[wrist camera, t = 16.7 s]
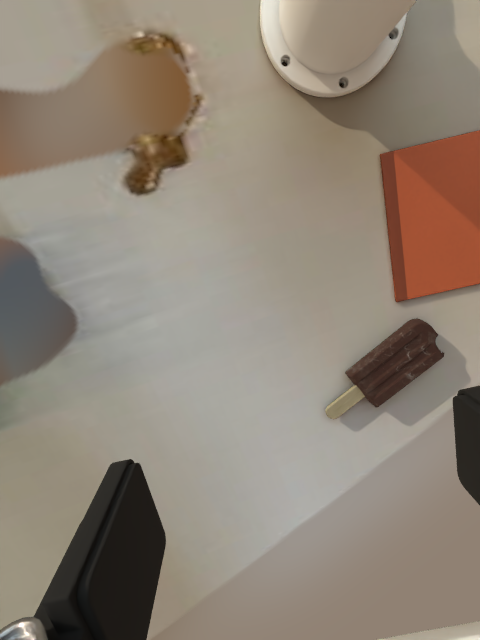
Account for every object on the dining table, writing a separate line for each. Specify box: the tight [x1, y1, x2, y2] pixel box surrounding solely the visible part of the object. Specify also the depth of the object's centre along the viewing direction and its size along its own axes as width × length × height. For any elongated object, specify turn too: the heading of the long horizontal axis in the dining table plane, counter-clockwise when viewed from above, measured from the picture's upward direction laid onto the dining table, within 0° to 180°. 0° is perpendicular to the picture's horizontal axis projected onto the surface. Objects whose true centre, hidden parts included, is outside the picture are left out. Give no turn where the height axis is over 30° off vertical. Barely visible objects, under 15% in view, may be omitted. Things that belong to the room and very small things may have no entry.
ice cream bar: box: [326, 319, 444, 419], centre depth 40 cm, size 5×2×15 cm
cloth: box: [380, 130, 480, 302], centre depth 36 cm, size 15×12×1 cm
